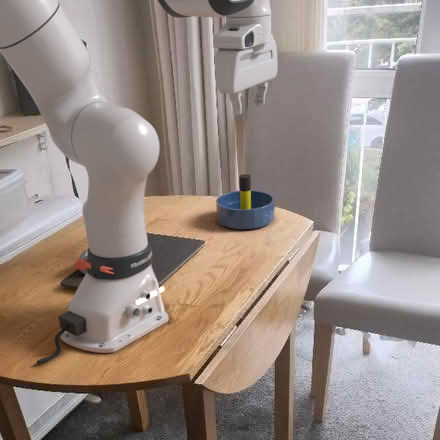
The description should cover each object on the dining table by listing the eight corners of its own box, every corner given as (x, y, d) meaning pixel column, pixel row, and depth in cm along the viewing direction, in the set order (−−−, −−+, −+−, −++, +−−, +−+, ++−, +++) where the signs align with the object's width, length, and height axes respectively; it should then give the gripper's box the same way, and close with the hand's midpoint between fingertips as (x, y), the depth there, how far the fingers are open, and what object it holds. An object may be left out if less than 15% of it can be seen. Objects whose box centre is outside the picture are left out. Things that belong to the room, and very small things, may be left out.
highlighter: (247, 220, 155) (247, 178, 148) (238, 219, 156) (237, 176, 149) (253, 216, 157) (252, 174, 150) (243, 215, 158) (242, 173, 151)
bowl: (258, 234, 148) (257, 213, 145) (206, 225, 155) (205, 205, 151) (283, 214, 159) (284, 194, 155) (234, 207, 165) (234, 187, 162)
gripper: (258, 26, 123) (258, 99, 131) (208, 39, 109) (211, 119, 117) (285, 27, 120) (284, 101, 129) (238, 39, 107) (239, 121, 115)
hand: (249, 109), depth 123 cm, fingers open, 8 cm apart
